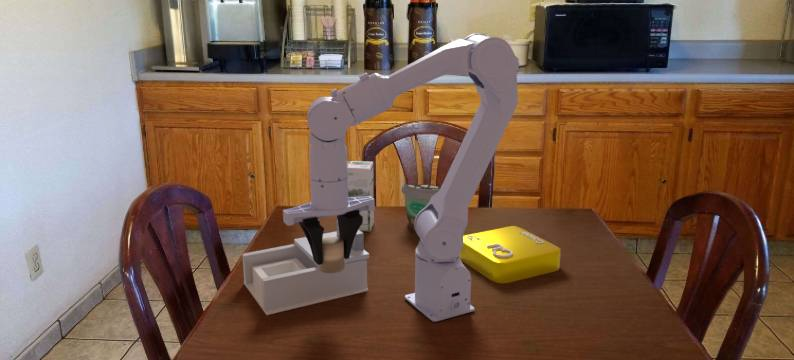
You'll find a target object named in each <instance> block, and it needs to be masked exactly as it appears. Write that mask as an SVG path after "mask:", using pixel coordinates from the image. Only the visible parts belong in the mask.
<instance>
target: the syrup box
mask: <svg viewBox="0 0 794 360" xmlns="http://www.w3.org/2000/svg"><path fill="white" fill-rule="evenodd" d="M347 164H348V198H349V197H365V196H370V197H372V198H373V199H374V161H361V160H359V161H358V160H355V161H354V160H347ZM374 212H375V210H374V211H368V210H366V211H360V215H361V216H363V223H362V224H361V226H360V228H359V229H358V230H360V231H361V232H362V233H364V232H365V233H366V232H368V233H369V232H371V231H372V228H373V226H374V224H373V223H375V220H374V219H375V214H374Z"/></svg>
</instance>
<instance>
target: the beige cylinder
mask: <svg viewBox="0 0 794 360" xmlns="http://www.w3.org/2000/svg"><path fill="white" fill-rule="evenodd" d="M322 254H323V263H322V264H321V265H319V270H320V271H322V272H324V273H337V272H340V271H342V270H343V269H344V240H343V239H341V238H339V237H325V238H322Z"/></svg>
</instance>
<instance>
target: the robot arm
mask: <svg viewBox="0 0 794 360" xmlns="http://www.w3.org/2000/svg"><path fill="white" fill-rule="evenodd" d="M519 66H520V63H519V60H518V59H517V56H516V55H515V53H514V50H513V48H512V46H511V45H510V44H509V42H507V41H506V40H505V39H503V38H501V37H497V36H490V35H489V36H488V35H487V34H484V33H480V32H477V33H472V34H468V35H467V36H466V37H464V38H463V39H462V38H459V39H457V40H454V41H451V42H449V43H447V44H445V45H442V46H441V47H439V48H437V49H435V50H433V51H432V52H430V53H427V54H426V55H424V56H423V57H420V58H418V59H417V60H415V61H413V62H411V63H409V64H407V65H406V66H403V67H401V68H400V69H398V70H396V71H395V72H394V71H393V73H390V74H388V75H383V74H380V73H378V72H374V73H371V74H370V75H369V73H367V72H363V73H362V74H360V75H358V78H359V80H357V81H355V82H353V83H351V84H350V85H347V86H345V87H343V88H341V89H339V90H338V89H337V88H333V89H332V90H330V91H329V92H330V95H331V96H321V97H317V99H315V100H314V101H312V102H311V104H310V105H309V108H308V111H307V114H306V120H307V124H308V125H307V126H308V128H309V130H310V131H309V133H310V135H309V139H308V140H309V142H308V143H309V145H310V146H309V148H308V159H309V160H308V161H309V181H310V182H309V185H310V202H308V203H304V204H300V205H299V206H295V207H291V208H287V209H282V217H283V218H282V219H283V221H282V222H283V223H284V224H285V225H286V226H289V227H290V226H293V225H295V224H296V223H297V224H298V225H299V226H300V228H301V230H302V232H303V233H304V235H305V236H304V237H306V238H307V240H308V242H309V245H310V248H311V251H312V255H313V260H314V261H315V262H316V263H317V264H318V265H321V264H322V263H323V254H322V238H323V234H324V230H325V228H324V226H323V225H321V222H320V220H319V219H324V218H330V217H336V219H337V220H338V226H339V235H340V238H341V239H343V240H344V258H345V259H349V257H350V252H351V248H352V244H353V241H354V238H355V236H356V233H357V231H358V229H359V228H360V226H361V224H362V223H363V216H361V215H360V211H366V210H368V211H374V212H375V210H376V208H375V207H376V205H375V204H376V202H375V198H374V197H373V198H372V197H370V196H365V197H349V198H348V164H347V162H348V147H347V145H346V133H347V131H348V129H349V127H355V126H358V125H359V124H361V123H364V122H366V121H369V120H370V119H372V118H374V117H376V116H378V115H380V114H382V113H384V112H386V111H388V110H390V109H392V108H393V105H394V103H395V101H396V98H397V97H398V96H399V95H402V94H403V93H404V94H405V93H406V92H409V91H411V90H413V89H415V88H419V87H421V86H422V85H424V84H427V83H429V82H431V81H433V80H436V79H438V78H440V77H442V76H446V75H450V76H459V77H468V78H470V79H471V81H472V82H473V84H474V86H475V89H476V92H477V94H478V96H479V99H480V104H479V106H478V108H477V110H476V112H475V114H474V116H473V119H472V120H471V123H470V124H469V127H468V128H467V131H466V133H465V135H464V137H463V140H462V142H461V144H460V146H459V148H458V150H457V153H456V155H455V156H454V159H453V161H452V163H451V164H450V167H449V168H448V171H447V174H446V175H445V178H444V180H443V182H442V184H441V186H440V187H441V188H440V190H439V191H438V192H437V193H436V194H434V195H433V196H432V197H431V199H430V201H429V203H428V204H427V206H426V207H425V208H423V209H422V210H421V211H420V212H419V213H418V214H417V216H416V218H415V221H414V228H415V231H414V232H415V233H416V235H417V237H419V240H418V244H417V246H416V247H415V249H414V251H415V252H414V253H415V258H414V259H415V262H414V263H415V264H414V268H415V269H414V273H415V274H414V292H413V293H409V294H405V296H404V299H405V300H406V301H407V302H409V303H410V304H411V305H412V306H413V307H415V308H416V309H417V310H418V311H419V312H421V313H422V314H423V315H424V316H425V317H427V318H428V319H429V320H430V321H432V322H434V323H435V322H440V321H444V320H446V319H450V318H454V317H457V316H462V315H464V314H468V313H471V312H474V311H475V307H474V306H473V305H472V304H471V296H472V294H471V293H472V275H471V272H470V271H469V269H468V268H466V266H465V264H463V261H461V258H460V251H461V250H462V247H463V236H464V235H465V230H466V229H467V226H468V220H469V219H468V217H469V206H470V204H471V202H472V200H473V197H474V196H475V193H476V192H477V189H478V187H479V185H480V183H481V181H482V179H483V177H484V176H485V174H486V170H487V168H488V166H489V165H490V163H491V160H492V159H493V156H494V154H495V153H496V150H497V148H498V146H499V144H500V142H501V139H502V138H503V136H504V134H505V131H506V130H507V129H508V128H507V127H508V125H509V123H510V122H511V119H512V117H513V115H514V113H515V111H516V110H517V109H516V108H517V107H518V103H519V94H518V93H519V92H518V91H519V90H518V76H517V74H518V73H517V72H518V69H519Z"/></svg>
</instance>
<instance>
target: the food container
mask: <svg viewBox="0 0 794 360" xmlns="http://www.w3.org/2000/svg"><path fill="white" fill-rule="evenodd" d="M440 188H441V186H440V185H435V184H431V183H430V184H429V183H425V184H415V183H414V184H413V183H406V179H404V180H403V183H402V186H401V189H400V191H401V193H402V194H403V196H404V200H405V211H406V219H407V221H406V222H407V227H408V228H409V229H410V230H412V231H414V232H416V231H415V228H414V221H415V218H416V216H417V214H418V213H419V212H420V211H421V210H422V209H423V208H425V207H426V206H427V204H428V203H429V201H430V199H431V197H432V196H433V195H434V194H436V193H437V192H438V191H439V190H440Z"/></svg>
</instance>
